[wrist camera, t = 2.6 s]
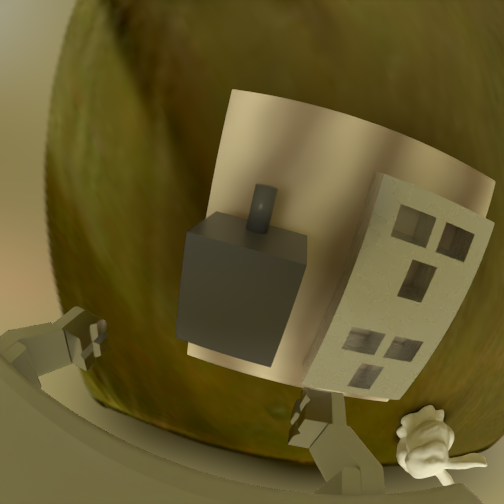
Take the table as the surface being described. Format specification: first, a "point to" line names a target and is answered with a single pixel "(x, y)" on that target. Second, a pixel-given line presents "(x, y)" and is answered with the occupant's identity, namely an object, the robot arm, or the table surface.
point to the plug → (240, 281)
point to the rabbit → (430, 446)
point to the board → (323, 200)
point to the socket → (395, 292)
